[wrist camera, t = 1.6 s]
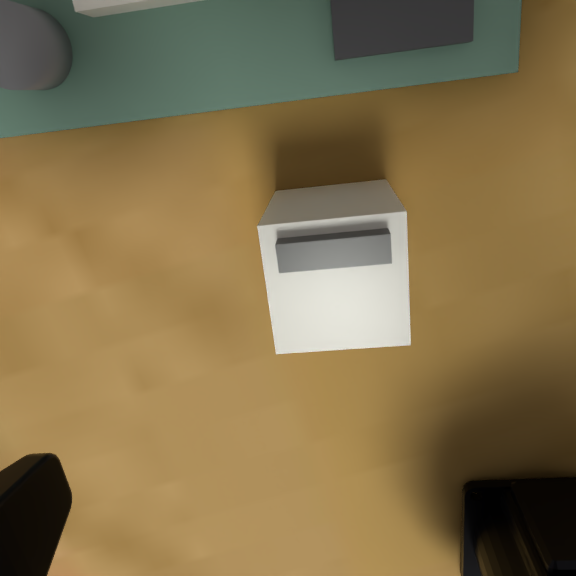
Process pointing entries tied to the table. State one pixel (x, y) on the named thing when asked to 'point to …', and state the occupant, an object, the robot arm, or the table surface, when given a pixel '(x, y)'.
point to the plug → (336, 267)
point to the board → (232, 54)
